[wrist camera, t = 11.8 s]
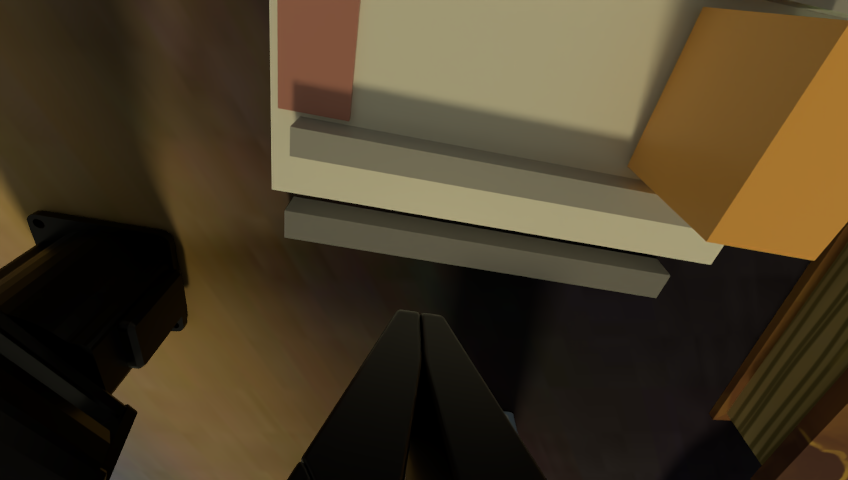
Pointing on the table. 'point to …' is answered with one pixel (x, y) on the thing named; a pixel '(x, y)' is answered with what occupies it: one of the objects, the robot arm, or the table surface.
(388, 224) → the grey base plate
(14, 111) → the table surface
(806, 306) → the diary
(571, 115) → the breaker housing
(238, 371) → the table surface
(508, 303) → the table surface
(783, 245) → the handle
